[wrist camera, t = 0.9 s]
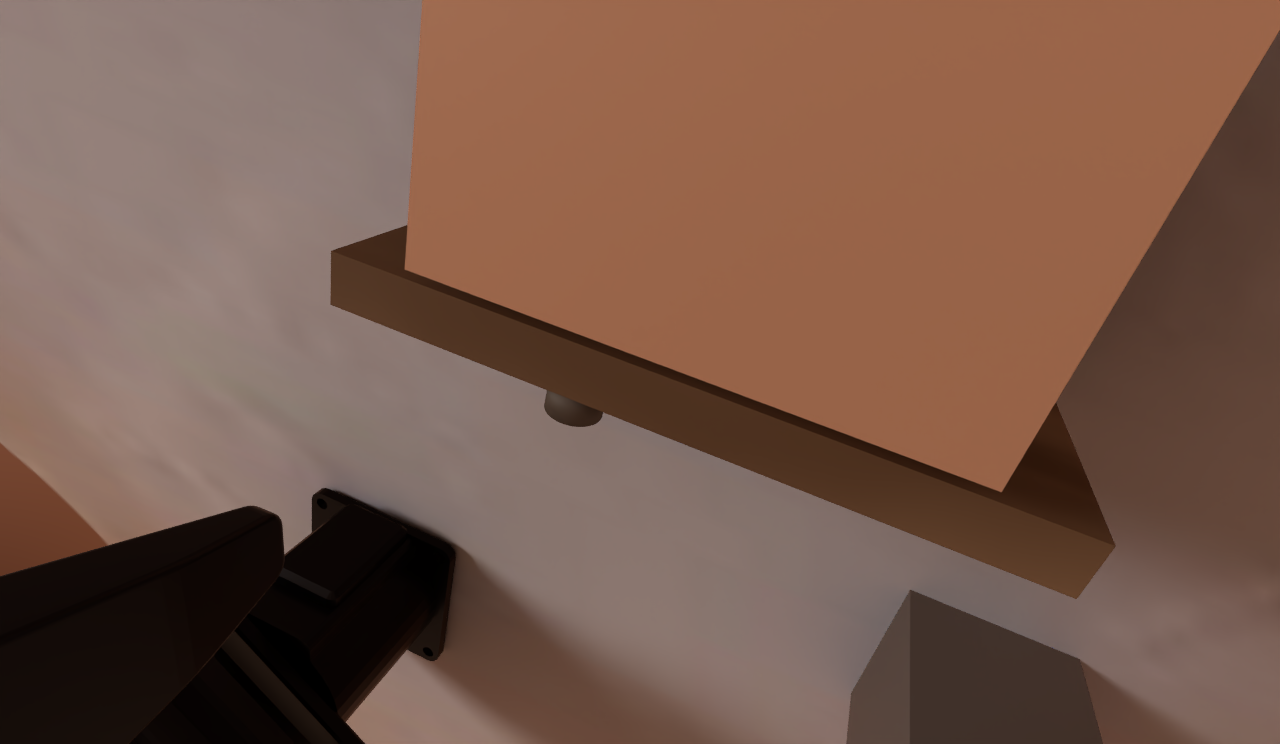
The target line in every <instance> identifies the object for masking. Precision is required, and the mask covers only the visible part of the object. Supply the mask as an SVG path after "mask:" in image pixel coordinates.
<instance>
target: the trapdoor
mask: <svg viewBox="0 0 1280 744" xmlns="http://www.w3.org/2000/svg"><path fill="white" fill-rule="evenodd" d="M1279 30H1280V0H422V16H421V31H420V46H419V61H418V76H417V91H416V106H415V121H414V136H413V151H412V166H411V181H410V196H409V211H408V227H407V242H406V257H405V270H408V271H410V272H413V273H416V274H418V275H421V276H424V277H426V278H429V279H432V280H434V281H437V282H440V283H442V284H445V285H448V286H450V287H453V288H456V289H458V290H461V291H464V292H467V293H469V294H472V295H475V296H477V297H480V298H483V299H485V300H488V301H491V302H493V303H496V304H499V305H501V306H504V307H507V308H509V309H512V310H515V311H517V312H520V313H523V314H525V315H528V316H531V317H533V318H536V319H539V320H541V321H544V322H547V323H550V324H552V325H555V326H558V327H560V328H563V329H566V330H568V331H571V332H574V333H576V334H579V335H582V336H584V337H587V338H590V339H592V340H595V341H598V342H600V343H603V344H606V345H608V346H611V347H614V348H616V349H619V350H622V351H625V352H627V353H630V354H633V355H635V356H638V357H641V358H643V359H646V360H649V361H651V362H654V363H657V364H659V365H662V366H665V367H667V368H670V369H673V370H675V371H678V372H681V373H683V374H686V375H689V376H691V377H694V378H697V379H700V380H702V381H705V382H708V383H710V384H713V385H716V386H718V387H721V388H724V389H726V390H729V391H732V392H734V393H737V394H740V395H742V396H745V397H748V398H750V399H753V400H756V401H758V402H761V403H764V404H766V405H769V406H772V407H775V408H777V409H780V410H783V411H785V412H788V413H791V414H793V415H796V416H799V417H801V418H804V419H807V420H809V421H812V422H815V423H817V424H820V425H823V426H825V427H828V428H831V429H833V430H836V431H839V432H841V433H844V434H847V435H850V436H852V437H855V438H858V439H860V440H863V441H866V442H868V443H871V444H874V445H876V446H879V447H882V448H884V449H887V450H890V451H892V452H895V453H898V454H900V455H903V456H906V457H908V458H911V459H914V460H916V461H919V462H922V463H925V464H927V465H930V466H933V467H935V468H938V469H941V470H943V471H946V472H949V473H951V474H954V475H957V476H959V477H962V478H965V479H967V480H970V481H973V482H975V483H978V484H981V485H983V486H986V487H989V488H991V489H994V490H997V491H1000V492H1002V491H1003V489H1004V487H1005V486H1006V484H1007V482H1008V481H1009V479H1010V477H1011V476H1012V474H1013V472H1014V471H1015V469H1016V467H1017V466H1018V464H1019V462H1020V461H1021V459H1022V457H1023V456H1024V454H1025V452H1026V451H1027V449H1028V447H1029V446H1030V444H1031V442H1032V441H1033V439H1034V438H1035V436H1036V434H1037V433H1038V431H1039V429H1040V428H1041V426H1042V424H1043V423H1044V421H1045V419H1046V418H1047V416H1048V414H1049V413H1050V411H1051V409H1052V408H1053V406H1054V404H1055V403H1056V401H1057V399H1058V398H1059V396H1060V394H1061V393H1062V391H1063V389H1064V388H1065V386H1066V384H1067V383H1068V381H1069V379H1070V378H1071V376H1072V374H1073V373H1074V371H1075V369H1076V368H1077V366H1078V364H1079V363H1080V361H1081V359H1082V358H1083V356H1084V354H1085V353H1086V351H1087V349H1088V348H1089V346H1090V344H1091V343H1092V341H1093V339H1094V338H1095V336H1096V335H1097V333H1098V331H1099V330H1100V328H1101V326H1102V325H1103V323H1104V321H1105V320H1106V318H1107V316H1108V315H1109V313H1110V311H1111V310H1112V308H1113V306H1114V305H1115V303H1116V301H1117V300H1118V298H1119V296H1120V295H1121V293H1122V291H1123V290H1124V288H1125V286H1126V285H1127V283H1128V281H1129V280H1130V278H1131V276H1132V275H1133V273H1134V271H1135V270H1136V268H1137V266H1138V265H1139V263H1140V261H1141V260H1142V258H1143V256H1144V255H1145V253H1146V251H1147V250H1148V248H1149V246H1150V245H1151V243H1152V241H1153V240H1154V238H1155V236H1156V235H1157V233H1158V232H1159V230H1160V228H1161V227H1162V225H1163V223H1164V222H1165V220H1166V218H1167V217H1168V215H1169V213H1170V212H1171V210H1172V208H1173V207H1174V205H1175V203H1176V202H1177V200H1178V198H1179V197H1180V195H1181V193H1182V192H1183V190H1184V188H1185V187H1186V185H1187V183H1188V182H1189V180H1190V178H1191V177H1192V175H1193V173H1194V172H1195V170H1196V168H1197V167H1198V165H1199V163H1200V162H1201V160H1202V158H1203V157H1204V155H1205V153H1206V152H1207V150H1208V148H1209V147H1210V145H1211V143H1212V142H1213V140H1214V138H1215V137H1216V135H1217V133H1218V132H1219V130H1220V129H1221V127H1222V125H1223V124H1224V122H1225V120H1226V119H1227V117H1228V115H1229V114H1230V112H1231V110H1232V109H1233V107H1234V105H1235V104H1236V102H1237V100H1238V99H1239V97H1240V95H1241V94H1242V92H1243V90H1244V89H1245V87H1246V85H1247V84H1248V82H1249V80H1250V79H1251V77H1252V75H1253V74H1254V72H1255V70H1256V69H1257V67H1258V65H1259V64H1260V62H1261V60H1262V59H1263V57H1264V55H1265V54H1266V52H1267V50H1268V49H1269V47H1270V45H1271V44H1272V42H1273V40H1274V39H1275V37H1276V35H1277V34H1278V32H1279Z"/></svg>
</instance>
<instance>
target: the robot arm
mask: <svg viewBox="0 0 1280 744" xmlns="http://www.w3.org/2000/svg"><path fill="white" fill-rule="evenodd" d="M455 558H456V555H455V551H454V549H453V548H452V547H451V546H450V545H449V544H447V543H446V542H444V541H442V540H439V539H437V538H435V537H433V536H431V535H429V534H426V533H424V532H422V531H420V530H418V529H415V528H413V527H411V526H409V525H407V524H404V523H402V522H400V521H398V520H396V519H394V518H391V517H389V516H387V515H385V514H383V513H380V512H378V511H376V510H374V509H372V508H370V507H367V506H365V505H363V504H361V503H359V502H356V501H354V500H352V499H350V498H348V497H346V496H343V495H341V494H339V493H337V492H335V491H332V490H330V489H327V488H322V489H321V490H319V491H318V492H317V493H315V494H314V495H313V497H312V533H311V534H310V535H308V536H307V537H306V538H305V539H303V540H302V541H301V542H300V543H298V544H297V545H296V546H295V547H293V548H292V549H291V550H290V551H288V552H287V553H286V554H285V555H284V542H283V528H282V521H281V519H280V518H279V516H278V515H276V514H274V513H272V512H269V511H267V510H265V509H262V508H260V507H257V506H246V507H242V508H238V509H235V510H231V511H228V512H224V513H221V514H217V515H214V516H210V517H207V518H203V519H200V520H196V521H193V522H189V523H185V524H182V525H178V526H175V527H171V528H168V529H164V530H161V531H157V532H154V533H150V534H147V535H143V536H140V537H136V538H133V539H129V540H126V541H122V542H119V543H115V544H112V545H108V546H105V547H101V548H98V549H94V550H91V551H87V552H84V553H80V554H77V555H73V556H70V557H66V558H63V559H59V560H56V561H52V562H48V563H45V564H41V565H38V566H35V567H31V568H27V569H24V570H20V571H17V572H13V573H10V574H6V575H3V576H0V744H365V743H364V742H363V741H362V740H361V739H360V738H359V736H358V735H357V734H356V733H355V732H354V731H353V730H352V729H351V728H350V727H349V726H348V724H347V723H346V721H347V720H348V719H349V717H350V716H351V715H352V714H353V713H354V711H355V710H356V709H357V708H358V707H359V706H360V704H361V703H362V702H363V701H364V700H365V698H366V697H367V696H368V695H369V694H370V693H371V691H372V690H373V689H374V688H375V687H376V686H377V684H378V683H379V682H380V681H381V680H382V678H383V677H384V676H385V675H386V674H387V673H388V671H389V670H390V669H391V668H392V667H393V665H394V664H395V663H396V662H397V661H398V660H399V658H400V657H401V656H402V655H403V654H404V652H405V651H406V650H409V651H411V652H413V653H415V654H417V655H419V656H421V657H423V658H425V659H427V660H430V661H435V660H437V659H438V657H439V656H440V655H441V653H442V652H443V649H444V642H445V634H446V626H447V619H448V611H449V604H450V596H451V588H452V581H453V573H454V565H455Z"/></svg>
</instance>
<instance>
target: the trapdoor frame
mask: <svg viewBox="0 0 1280 744" xmlns="http://www.w3.org/2000/svg"><path fill="white" fill-rule="evenodd" d="M407 227H408V225H406V226H403V227H401V228H398V229H395V230H392V231H389V232H386V233H383V234H380V235H377V236H374V237H371V238H368V239H365V240H362V241H359V242H356V243H353V244H350V245H347V246H344V247H341V248H338V249H336V250H333V251H331V305H333V306H335V307H338V308H341V309H343V310H346V311H348V312H351V313H353V314H356V315H358V316H361V317H363V318H366V319H368V320H371V321H373V322H376V323H379V324H381V325H384V326H386V327H389V328H391V329H394V330H396V331H399V332H401V333H404V334H406V335H409V336H411V337H414V338H417V339H419V340H422V341H424V342H427V343H429V344H432V345H434V346H437V347H439V348H442V349H444V350H447V351H449V352H452V353H455V354H457V355H460V356H462V357H465V358H467V359H470V360H472V361H475V362H477V363H480V364H482V365H485V366H487V367H490V368H493V369H495V370H498V371H500V372H503V373H505V374H508V375H510V376H513V377H515V378H518V379H520V380H523V381H525V382H528V383H531V384H533V385H536V386H538V387H541V388H543V389H546V390H547V394H546V399H545V404H544V408H545V411H546V412H547V414H548V415H549V416H550V417H551V418H553V419H554V420H556V421H558V422H560V423H563V424H566V425H569V426H576V427H585V426H591V425H594V424H596V423H597V422H599V421H600V419H601V418H602V414H603V412H604V413H606V414H609V415H612V416H614V417H617V418H619V419H622V420H624V421H627V422H629V423H632V424H634V425H637V426H639V427H642V428H644V429H647V430H650V431H652V432H655V433H657V434H660V435H662V436H665V437H667V438H670V439H672V440H675V441H677V442H680V443H682V444H685V445H688V446H690V447H693V448H695V449H698V450H700V451H703V452H705V453H708V454H710V455H713V456H715V457H718V458H720V459H723V460H726V461H728V462H731V463H733V464H736V465H738V466H741V467H743V468H746V469H748V470H751V471H753V472H756V473H758V474H761V475H764V476H766V477H769V478H771V479H774V480H776V481H779V482H781V483H784V484H786V485H789V486H791V487H794V488H796V489H799V490H802V491H804V492H807V493H809V494H812V495H814V496H817V497H819V498H822V499H824V500H827V501H829V502H832V503H834V504H837V505H840V506H842V507H845V508H847V509H850V510H852V511H855V512H857V513H860V514H862V515H865V516H867V517H870V518H872V519H875V520H877V521H880V522H883V523H885V524H888V525H890V526H893V527H895V528H898V529H900V530H903V531H905V532H908V533H910V534H913V535H915V536H918V537H921V538H923V539H926V540H928V541H931V542H933V543H936V544H938V545H941V546H943V547H946V548H948V549H951V550H953V551H956V552H959V553H961V554H964V555H966V556H969V557H971V558H974V559H976V560H979V561H981V562H984V563H986V564H989V565H991V566H994V567H997V568H999V569H1002V570H1004V571H1007V572H1009V573H1012V574H1014V575H1017V576H1019V577H1022V578H1024V579H1027V580H1029V581H1032V582H1035V583H1037V584H1040V585H1042V586H1045V587H1047V588H1050V589H1052V590H1055V591H1057V592H1060V593H1062V594H1065V595H1067V596H1070V597H1073V598H1075V599H1077V598H1078V596H1079V595H1080V594H1081V592H1082V591H1083V590H1084V588H1085V587H1086V586H1087V584H1088V583H1089V582H1090V580H1091V579H1092V577H1093V576H1094V575H1095V573H1096V572H1097V571H1098V569H1099V568H1100V567H1101V565H1102V564H1103V563H1104V561H1105V560H1106V558H1107V557H1108V556H1109V554H1110V553H1111V552H1112V550H1113V549H1114V548H1115V544H1114V541H1113V539H1112V536H1111V534H1110V532H1109V529H1108V527H1107V524H1106V522H1105V520H1104V517H1103V515H1102V512H1101V510H1100V508H1099V505H1098V503H1097V500H1096V498H1095V496H1094V493H1093V491H1092V488H1091V486H1090V484H1089V481H1088V479H1087V476H1086V474H1085V472H1084V469H1083V467H1082V464H1081V462H1080V459H1079V457H1078V455H1077V452H1076V450H1075V447H1074V445H1073V443H1072V440H1071V438H1070V435H1069V433H1068V431H1067V428H1066V426H1065V423H1064V421H1063V419H1062V416H1061V414H1060V411H1059V409H1058V407H1057V404H1056V403H1055V404H1054V406H1053V408H1052V409H1051V411H1050V413H1049V414H1048V416H1047V418H1046V419H1045V421H1044V423H1043V424H1042V426H1041V428H1040V429H1039V431H1038V433H1037V434H1036V436H1035V438H1034V439H1033V441H1032V442H1031V444H1030V446H1029V447H1028V449H1027V451H1026V452H1025V454H1024V456H1023V457H1022V459H1021V461H1020V462H1019V464H1018V466H1017V467H1016V469H1015V471H1014V472H1013V474H1012V476H1011V477H1010V479H1009V481H1008V482H1007V484H1006V486H1005V487H1004V489H1003V491H1002V492H1000V491H997V490H994V489H991V488H989V487H986V486H983V485H981V484H978V483H975V482H973V481H970V480H967V479H965V478H962V477H959V476H957V475H954V474H951V473H949V472H946V471H943V470H941V469H938V468H935V467H933V466H930V465H927V464H925V463H922V462H919V461H916V460H914V459H911V458H908V457H906V456H903V455H900V454H898V453H895V452H892V451H890V450H887V449H884V448H882V447H879V446H876V445H874V444H871V443H868V442H866V441H863V440H860V439H858V438H855V437H852V436H850V435H847V434H844V433H841V432H839V431H836V430H833V429H831V428H828V427H825V426H823V425H820V424H817V423H815V422H812V421H809V420H807V419H804V418H801V417H799V416H796V415H793V414H791V413H788V412H785V411H783V410H780V409H777V408H775V407H772V406H769V405H766V404H764V403H761V402H758V401H756V400H753V399H750V398H748V397H745V396H742V395H740V394H737V393H734V392H732V391H729V390H726V389H724V388H721V387H718V386H716V385H713V384H710V383H708V382H705V381H702V380H700V379H697V378H694V377H691V376H689V375H686V374H683V373H681V372H678V371H675V370H673V369H670V368H667V367H665V366H662V365H659V364H657V363H654V362H651V361H649V360H646V359H643V358H641V357H638V356H635V355H633V354H630V353H627V352H625V351H622V350H619V349H616V348H614V347H611V346H608V345H606V344H603V343H600V342H598V341H595V340H592V339H590V338H587V337H584V336H582V335H579V334H576V333H574V332H571V331H568V330H566V329H563V328H560V327H558V326H555V325H552V324H550V323H547V322H544V321H541V320H539V319H536V318H533V317H531V316H528V315H525V314H523V313H520V312H517V311H515V310H512V309H509V308H507V307H504V306H501V305H499V304H496V303H493V302H491V301H488V300H485V299H483V298H480V297H477V296H475V295H472V294H469V293H467V292H464V291H461V290H458V289H456V288H453V287H450V286H448V285H445V284H442V283H440V282H437V281H434V280H432V279H429V278H426V277H424V276H421V275H418V274H416V273H413V272H410V271H408V270H405V257H406V242H407Z"/></svg>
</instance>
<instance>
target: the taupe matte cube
mask: <svg viewBox="0 0 1280 744" xmlns="http://www.w3.org/2000/svg"><path fill="white" fill-rule="evenodd" d="M846 744H1103V742H1102V738H1101V734H1100V731H1099V727H1098V724H1097V720H1096V716H1095V713H1094V709H1093V706H1092V702H1091V698H1090V695H1089V691H1088V688H1087V684H1086V680H1085V677H1084V673H1083V669H1082V666H1081V662H1080V659H1078V658H1075V657H1073V656H1070V655H1068V654H1065V653H1063V652H1060V651H1058V650H1056V649H1053V648H1051V647H1048V646H1046V645H1043V644H1041V643H1039V642H1036V641H1034V640H1031V639H1029V638H1026V637H1024V636H1022V635H1019V634H1017V633H1014V632H1012V631H1009V630H1007V629H1004V628H1002V627H1000V626H997V625H995V624H992V623H990V622H987V621H985V620H983V619H980V618H978V617H975V616H973V615H970V614H968V613H966V612H963V611H961V610H958V609H956V608H953V607H951V606H949V605H946V604H944V603H941V602H939V601H936V600H934V599H931V598H929V597H927V596H924V595H922V594H919V593H917V592H914V591H912V590H910V591H909V593H908V595H907V596H906V598H905V600H904V602H903V603H902V605H901V607H900V609H899V610H898V612H897V614H896V616H895V617H894V619H893V621H892V623H891V624H890V626H889V628H888V630H887V631H886V633H885V635H884V637H883V638H882V640H881V642H880V644H879V645H878V647H877V649H876V651H875V652H874V654H873V656H872V658H871V659H870V661H869V663H868V665H867V666H866V668H865V670H864V672H863V673H862V675H861V677H860V679H859V680H858V682H857V684H856V686H855V688H854V689H853V691H852V693H851V701H850V711H849V722H848V732H847V743H846Z"/></svg>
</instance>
